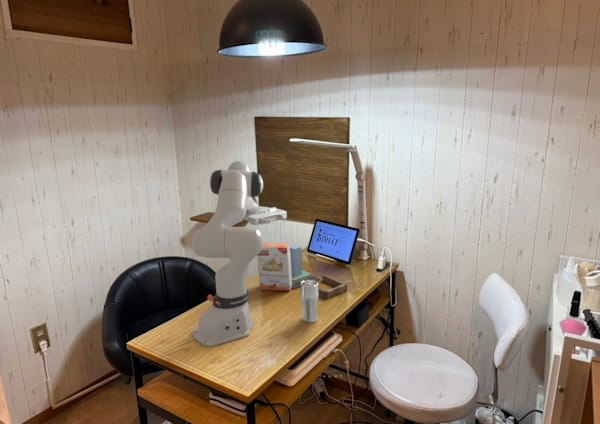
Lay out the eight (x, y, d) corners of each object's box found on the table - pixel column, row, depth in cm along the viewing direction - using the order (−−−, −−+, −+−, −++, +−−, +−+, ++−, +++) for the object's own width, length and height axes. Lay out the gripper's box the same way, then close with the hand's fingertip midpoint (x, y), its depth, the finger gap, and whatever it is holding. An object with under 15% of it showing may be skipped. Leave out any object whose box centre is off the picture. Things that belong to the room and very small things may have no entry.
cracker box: (259, 290, 186) (255, 247, 180) (263, 284, 191) (259, 242, 186) (290, 291, 183) (287, 247, 177) (292, 285, 189) (289, 242, 183)
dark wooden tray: (326, 299, 176) (326, 292, 175) (304, 287, 187) (303, 281, 186) (347, 290, 183) (347, 284, 182) (324, 280, 195) (324, 274, 194)
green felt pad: (293, 281, 194) (293, 280, 194) (280, 274, 202) (280, 273, 202) (311, 275, 201) (311, 274, 200) (297, 268, 209) (297, 267, 209)
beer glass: (307, 325, 155) (306, 288, 152) (297, 317, 161) (296, 282, 157) (322, 319, 159) (322, 283, 155) (312, 312, 165) (311, 277, 161)
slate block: (294, 276, 198) (293, 249, 195) (289, 273, 202) (287, 246, 198) (302, 274, 201) (301, 246, 197) (296, 271, 204) (295, 244, 201)
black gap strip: (293, 289, 186) (293, 288, 186) (286, 286, 190) (286, 285, 189) (319, 279, 195) (319, 278, 195) (312, 276, 199) (312, 275, 199)
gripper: (242, 212, 202) (258, 217, 191) (276, 206, 214) (293, 210, 204) (243, 225, 203) (259, 230, 193) (277, 218, 216) (293, 222, 205)
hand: (276, 220), depth 198 cm, fingers open, 8 cm apart
